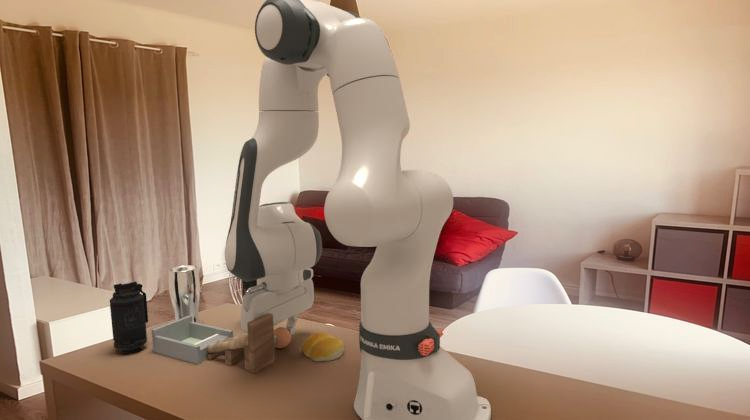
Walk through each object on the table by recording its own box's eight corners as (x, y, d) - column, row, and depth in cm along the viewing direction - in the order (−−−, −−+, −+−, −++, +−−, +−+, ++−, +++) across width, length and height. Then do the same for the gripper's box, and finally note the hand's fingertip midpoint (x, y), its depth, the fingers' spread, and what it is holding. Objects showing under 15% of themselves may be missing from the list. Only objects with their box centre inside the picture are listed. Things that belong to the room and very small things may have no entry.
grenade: (123, 358, 104) (117, 288, 102) (108, 351, 108) (102, 284, 106) (156, 347, 109) (150, 280, 107) (140, 340, 113) (135, 276, 111)
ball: (295, 345, 108) (294, 326, 108) (282, 352, 105) (281, 332, 104) (280, 341, 111) (279, 322, 110) (266, 349, 107) (265, 329, 106)
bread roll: (320, 366, 99) (320, 347, 98) (296, 353, 105) (295, 335, 105) (353, 354, 104) (352, 336, 103) (328, 342, 111) (327, 325, 110)
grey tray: (234, 346, 109) (232, 324, 108) (197, 364, 100) (196, 340, 100) (190, 335, 115) (189, 315, 115) (153, 351, 107) (151, 329, 106)
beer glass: (165, 332, 118) (160, 271, 116) (184, 322, 125) (180, 264, 123) (190, 335, 116) (186, 272, 114) (208, 324, 123) (204, 265, 121)
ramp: (275, 361, 101) (272, 314, 99) (254, 373, 96) (251, 323, 94) (225, 349, 107) (222, 304, 106) (203, 359, 102) (200, 313, 101)
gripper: (255, 292, 95) (259, 360, 97) (317, 268, 113) (320, 326, 115) (231, 288, 98) (235, 355, 100) (295, 265, 116) (298, 322, 118)
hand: (281, 339), depth 107 cm, fingers closed on ball, 4 cm apart
